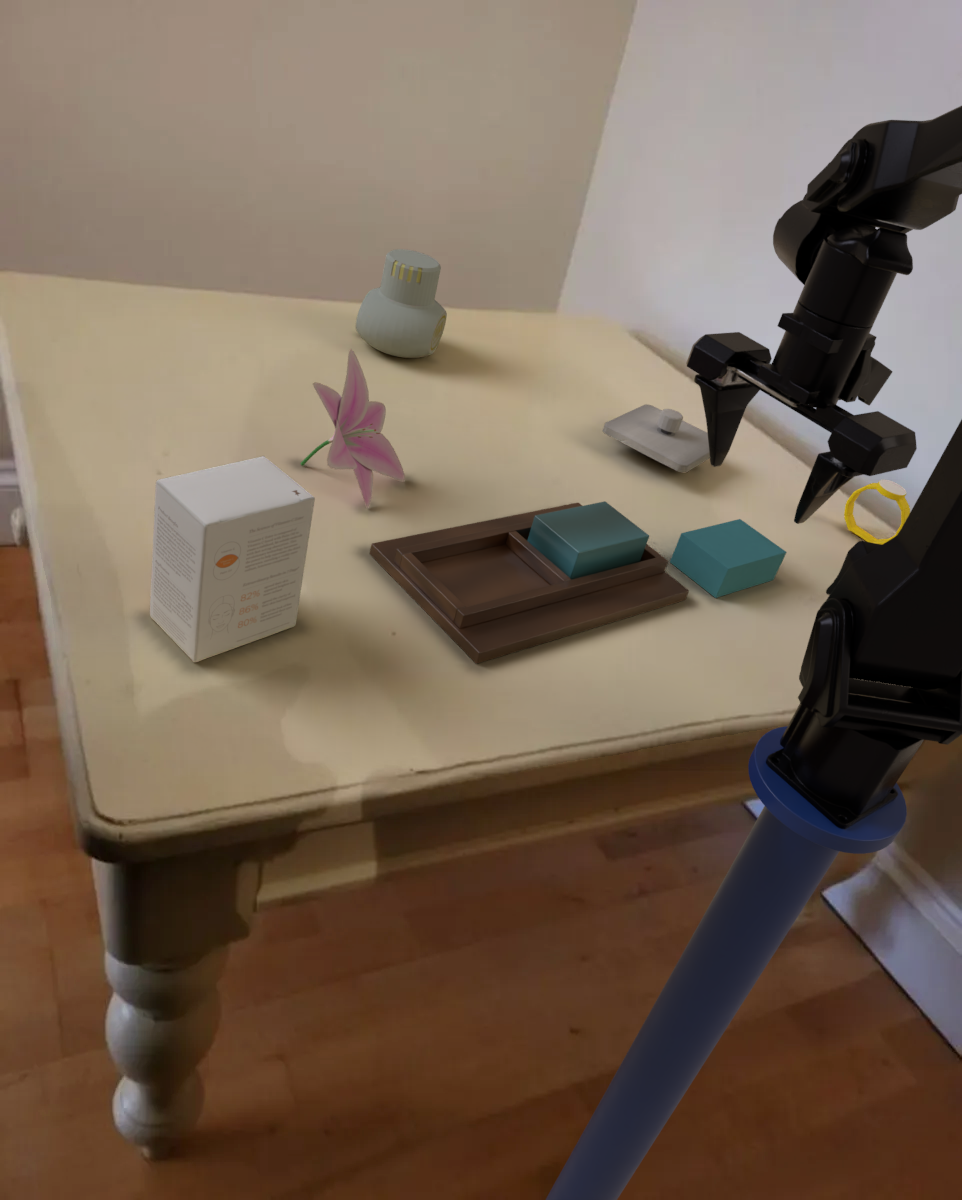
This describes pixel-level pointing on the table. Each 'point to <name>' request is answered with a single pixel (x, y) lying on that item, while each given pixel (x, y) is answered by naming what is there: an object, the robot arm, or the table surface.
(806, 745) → the robot arm
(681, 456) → the light switch
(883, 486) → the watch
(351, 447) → the lily
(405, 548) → the brown two-compartment tray
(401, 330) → the air freshener
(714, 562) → the pad
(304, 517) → the small box
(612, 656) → the table surface
